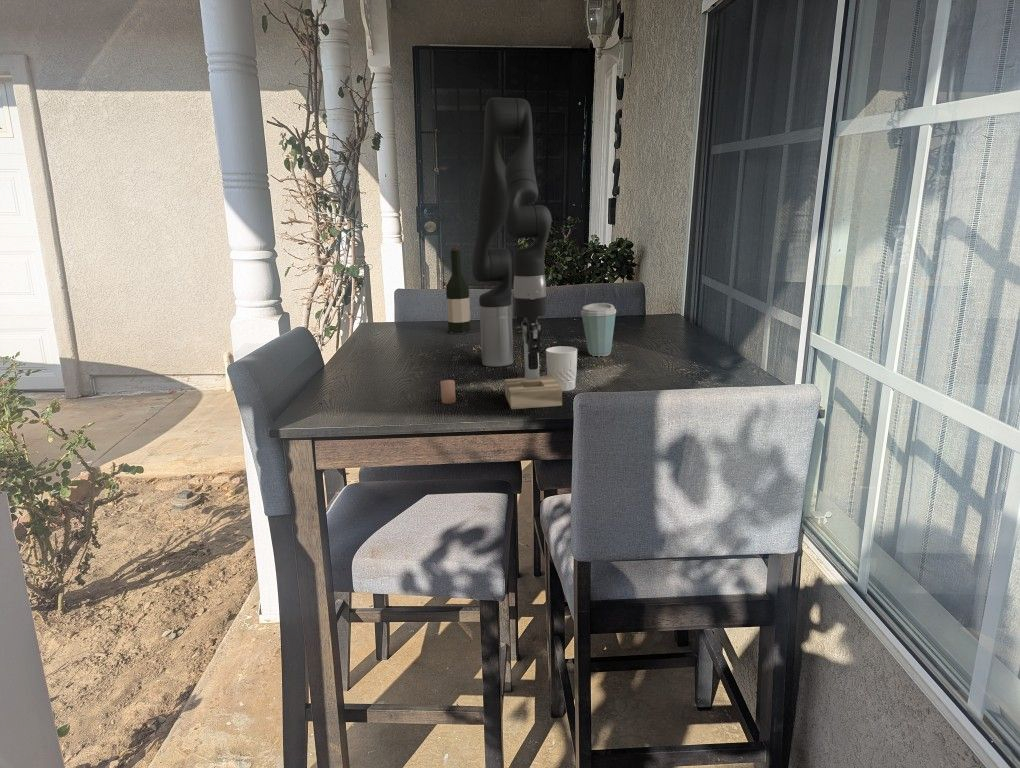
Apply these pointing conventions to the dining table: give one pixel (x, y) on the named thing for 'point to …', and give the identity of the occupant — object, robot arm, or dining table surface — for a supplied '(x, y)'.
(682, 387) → the dining table surface
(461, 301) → the wine bottle
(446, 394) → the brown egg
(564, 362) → the white cup
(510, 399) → the hole block
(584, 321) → the disposable coffee cup
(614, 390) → the dining table surface
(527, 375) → the long dowel
